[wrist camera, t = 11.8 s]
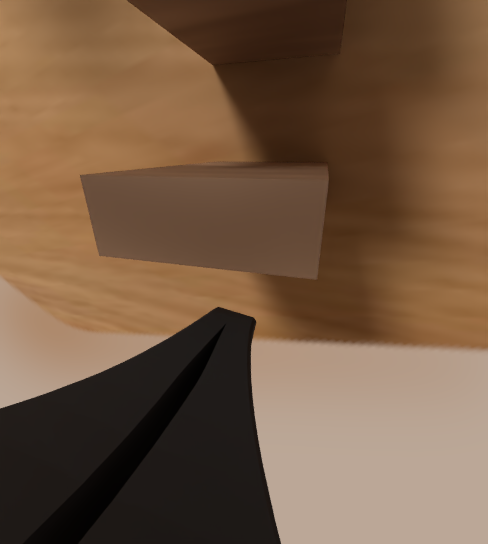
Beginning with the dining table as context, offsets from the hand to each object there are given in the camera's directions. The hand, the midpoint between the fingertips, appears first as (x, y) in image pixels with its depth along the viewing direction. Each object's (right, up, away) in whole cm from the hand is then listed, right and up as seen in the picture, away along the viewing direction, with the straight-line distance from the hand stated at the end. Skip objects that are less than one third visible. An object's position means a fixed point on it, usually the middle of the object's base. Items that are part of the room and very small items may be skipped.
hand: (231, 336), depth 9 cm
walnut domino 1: (+2, +6, +3) cm, 7 cm away
